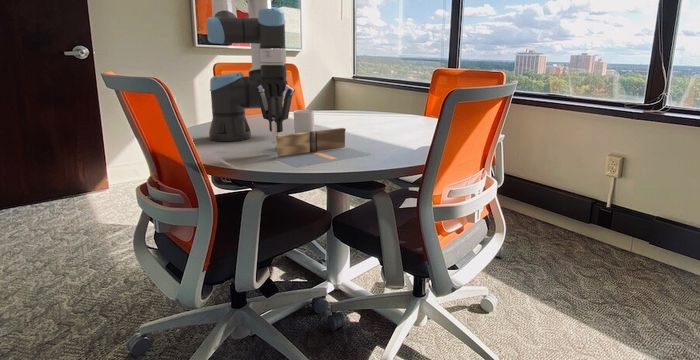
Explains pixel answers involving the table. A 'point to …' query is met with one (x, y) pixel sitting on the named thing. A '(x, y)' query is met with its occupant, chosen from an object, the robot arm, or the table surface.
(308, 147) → the wooden board
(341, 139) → the base
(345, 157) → the card
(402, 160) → the table surface
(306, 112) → the mug
